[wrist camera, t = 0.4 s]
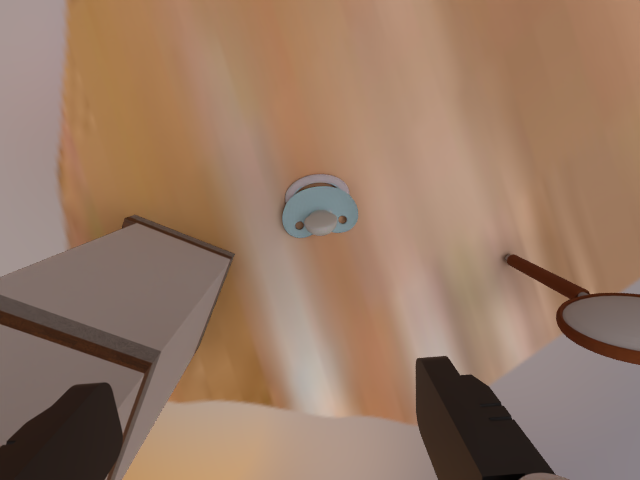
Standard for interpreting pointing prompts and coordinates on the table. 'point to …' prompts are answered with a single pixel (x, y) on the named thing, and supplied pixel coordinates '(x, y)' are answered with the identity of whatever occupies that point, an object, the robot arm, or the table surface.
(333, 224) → the pacifier
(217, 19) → the table surface
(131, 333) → the grey notched tower
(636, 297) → the magnifying glass
